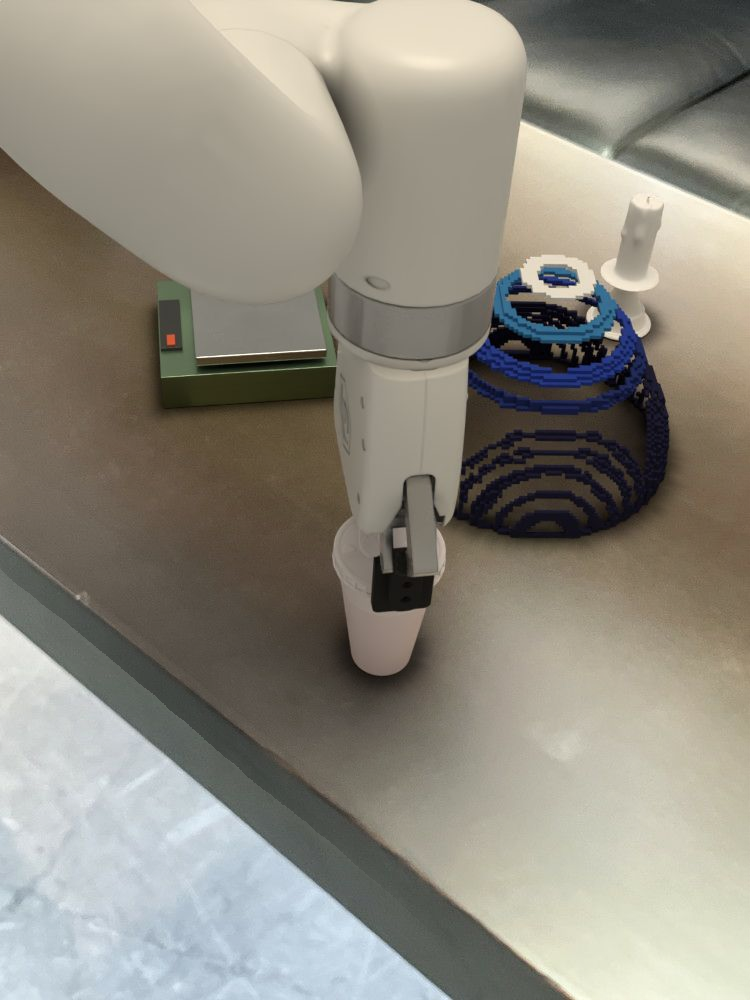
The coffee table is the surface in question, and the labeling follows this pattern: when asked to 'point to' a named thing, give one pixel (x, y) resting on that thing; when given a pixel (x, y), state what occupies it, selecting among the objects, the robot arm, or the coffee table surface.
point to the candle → (633, 264)
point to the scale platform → (256, 330)
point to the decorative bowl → (586, 374)
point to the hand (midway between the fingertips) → (389, 553)
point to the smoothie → (372, 635)
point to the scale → (236, 380)
